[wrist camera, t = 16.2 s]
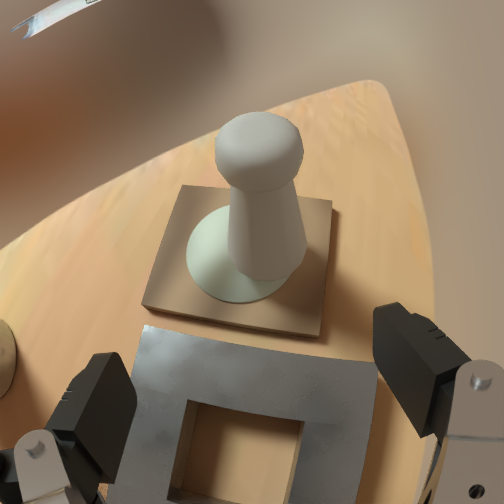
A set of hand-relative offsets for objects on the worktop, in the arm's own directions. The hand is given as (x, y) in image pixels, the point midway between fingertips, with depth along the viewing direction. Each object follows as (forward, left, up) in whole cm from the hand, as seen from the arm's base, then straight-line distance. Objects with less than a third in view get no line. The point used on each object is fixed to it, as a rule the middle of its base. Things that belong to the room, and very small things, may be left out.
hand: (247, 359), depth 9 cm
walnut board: (-4, +10, -14) cm, 18 cm away
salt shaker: (-2, +10, -13) cm, 17 cm away
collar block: (-1, -6, -14) cm, 16 cm away
